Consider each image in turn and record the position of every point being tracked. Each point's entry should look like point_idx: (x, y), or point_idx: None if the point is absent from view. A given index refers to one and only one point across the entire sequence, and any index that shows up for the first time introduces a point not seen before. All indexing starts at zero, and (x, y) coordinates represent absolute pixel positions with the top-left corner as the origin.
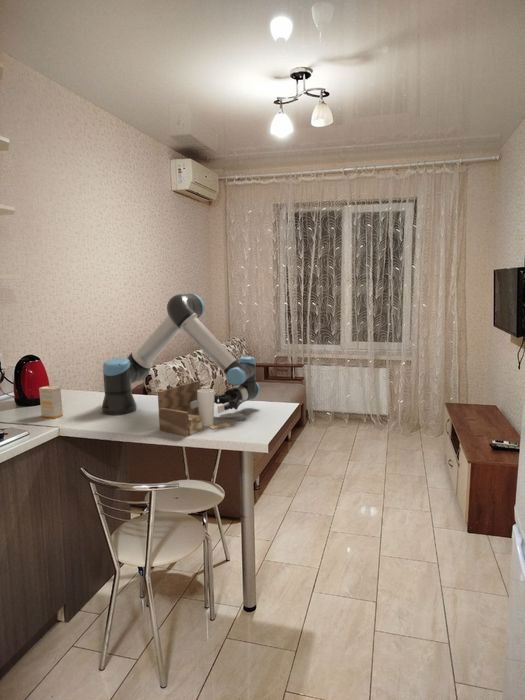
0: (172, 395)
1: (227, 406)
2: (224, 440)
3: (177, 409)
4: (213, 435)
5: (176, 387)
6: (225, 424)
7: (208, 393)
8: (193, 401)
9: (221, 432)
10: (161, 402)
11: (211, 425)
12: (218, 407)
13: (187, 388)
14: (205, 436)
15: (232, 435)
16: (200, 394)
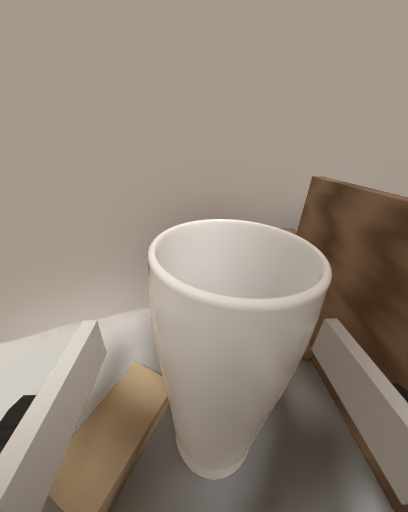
0: (346, 223)
1: (9, 410)
2: (60, 328)
3: (337, 305)
4: (119, 348)
5: (397, 197)
6: (85, 471)
7: (167, 239)
8: (341, 335)
9: (96, 395)
10: (304, 216)
11: (164, 398)
12: (90, 326)
13: None
14: (143, 329)
15: (29, 386)
16: (221, 235)
